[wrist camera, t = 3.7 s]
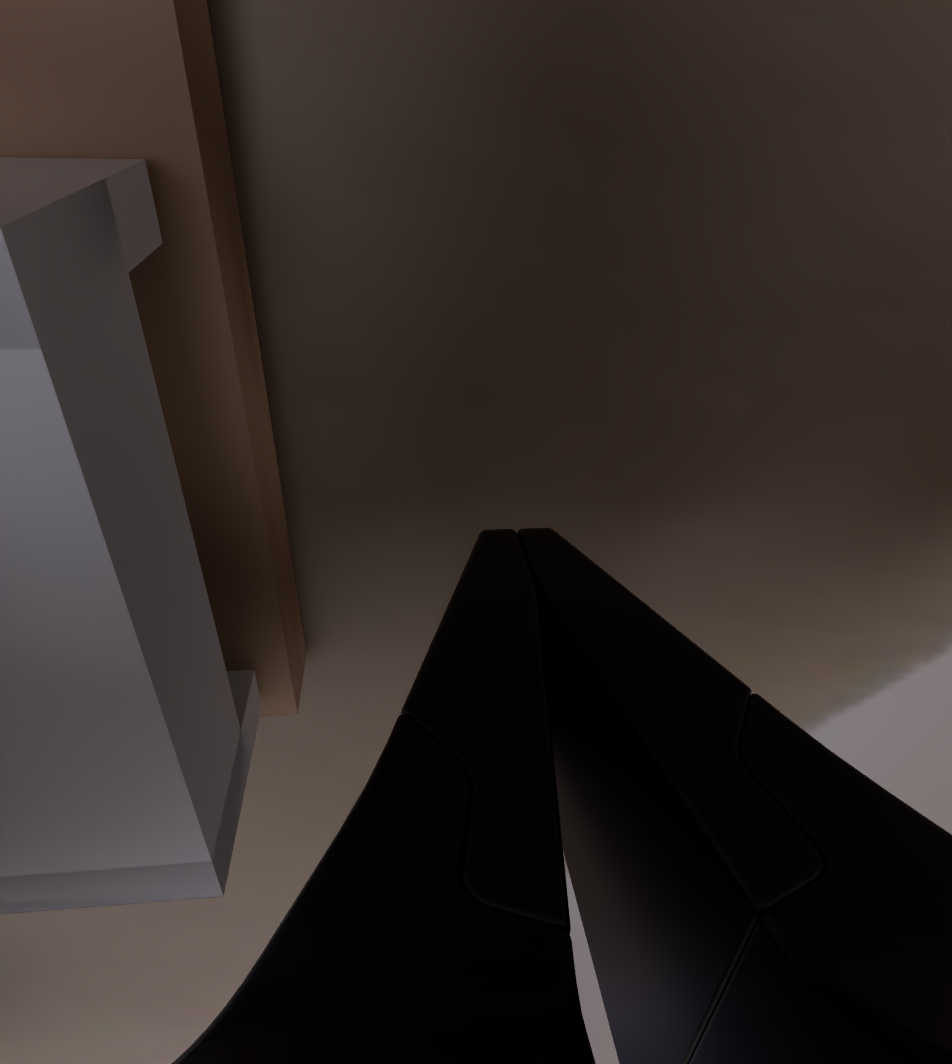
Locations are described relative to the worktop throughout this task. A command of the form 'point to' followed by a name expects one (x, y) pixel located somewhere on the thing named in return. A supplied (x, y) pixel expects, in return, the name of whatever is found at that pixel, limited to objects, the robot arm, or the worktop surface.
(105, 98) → the board
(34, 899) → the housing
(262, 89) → the worktop surface
